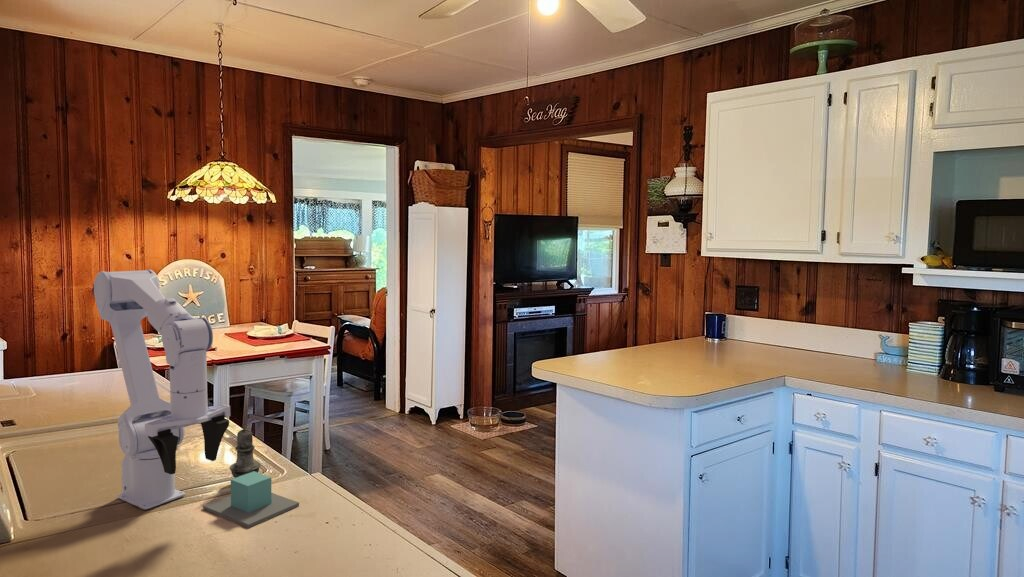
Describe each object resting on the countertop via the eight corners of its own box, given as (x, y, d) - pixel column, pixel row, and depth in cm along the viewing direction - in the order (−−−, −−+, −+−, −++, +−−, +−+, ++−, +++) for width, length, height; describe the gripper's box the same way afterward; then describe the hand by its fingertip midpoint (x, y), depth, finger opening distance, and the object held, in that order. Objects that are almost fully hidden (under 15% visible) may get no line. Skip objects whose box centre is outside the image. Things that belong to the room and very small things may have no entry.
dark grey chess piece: (250, 490, 132) (249, 431, 131) (223, 487, 133) (222, 428, 132) (266, 479, 138) (266, 422, 137) (241, 476, 139) (240, 419, 138)
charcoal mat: (203, 508, 123) (203, 505, 123) (254, 489, 133) (254, 486, 133) (248, 527, 117) (248, 524, 117) (299, 505, 126) (299, 502, 126)
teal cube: (231, 505, 124) (230, 479, 123) (254, 496, 128) (254, 471, 127) (248, 512, 121) (247, 486, 120) (271, 503, 125) (271, 477, 125)
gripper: (161, 402, 107) (163, 484, 108) (240, 384, 119) (241, 458, 121) (136, 395, 111) (139, 475, 112) (215, 378, 123) (217, 450, 124)
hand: (190, 466), depth 117 cm, fingers open, 7 cm apart
